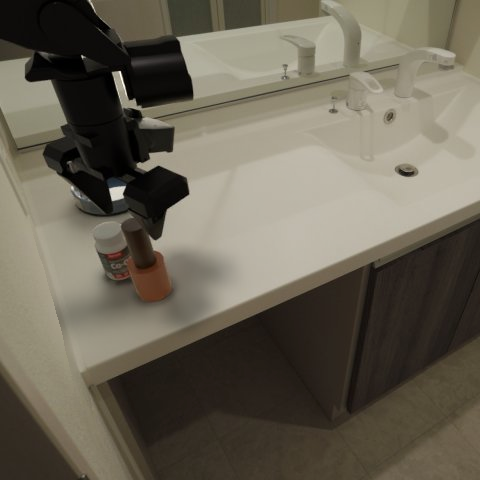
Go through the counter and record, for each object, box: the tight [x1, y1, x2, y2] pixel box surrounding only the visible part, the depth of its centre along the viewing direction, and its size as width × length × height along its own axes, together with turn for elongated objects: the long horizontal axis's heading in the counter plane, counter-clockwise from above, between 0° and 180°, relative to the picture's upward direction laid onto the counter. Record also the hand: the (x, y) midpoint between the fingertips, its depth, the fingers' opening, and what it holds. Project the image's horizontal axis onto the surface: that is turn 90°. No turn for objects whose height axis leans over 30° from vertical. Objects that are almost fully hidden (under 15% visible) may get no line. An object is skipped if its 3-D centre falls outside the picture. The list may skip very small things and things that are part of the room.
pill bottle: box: [91, 221, 131, 281], centre depth 63 cm, size 5×5×8 cm
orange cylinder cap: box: [127, 249, 173, 303], centre depth 62 cm, size 5×5×6 cm
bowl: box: [70, 178, 129, 216], centre depth 79 cm, size 13×13×3 cm
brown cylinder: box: [120, 217, 156, 269], centre depth 57 cm, size 3×3×7 cm
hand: (133, 225), depth 55 cm, fingers open, 9 cm apart
